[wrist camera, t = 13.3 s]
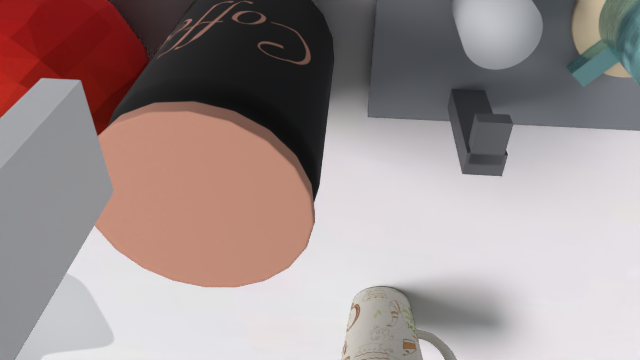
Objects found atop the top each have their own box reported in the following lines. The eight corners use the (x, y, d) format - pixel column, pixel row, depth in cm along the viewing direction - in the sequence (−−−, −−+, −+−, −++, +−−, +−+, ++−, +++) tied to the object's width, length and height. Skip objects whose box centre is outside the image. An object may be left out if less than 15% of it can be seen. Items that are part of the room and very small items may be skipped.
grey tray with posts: (390, -170, 29) (396, -147, 22) (801, -160, 28) (942, -134, 21) (367, 110, 41) (367, 182, 34) (661, 124, 39) (723, 202, 33)
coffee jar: (342, -24, 34) (324, 125, 20) (328, 115, 41) (307, 299, 27) (180, -41, 35) (51, 96, 20) (192, 101, 41) (101, 277, 27)
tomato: (-39, -76, 34) (-224, -1, 23) (172, -49, 34) (83, 38, 24) (22, 126, 44) (-90, 243, 33) (186, 146, 44) (127, 270, 33)
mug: (357, 269, 52) (354, 359, 44) (472, 301, 54) (490, 393, 46) (330, 317, 57) (324, 406, 49) (437, 345, 59) (447, 434, 51)
